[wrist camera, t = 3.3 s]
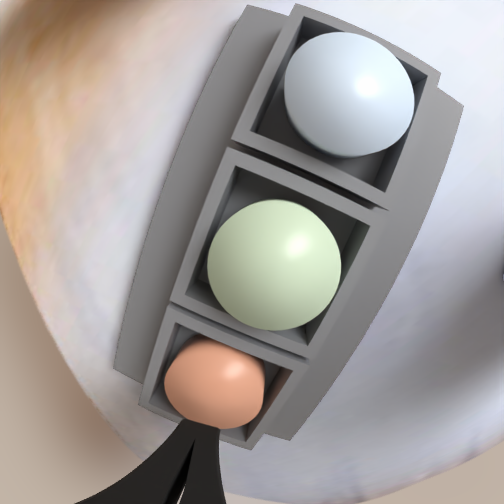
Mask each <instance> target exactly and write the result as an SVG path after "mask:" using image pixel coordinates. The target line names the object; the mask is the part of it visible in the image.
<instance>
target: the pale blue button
mask: <svg viewBox="0 0 504 504" xmlns="http://www.w3.org/2000/svg"><path fill="white" fill-rule="evenodd" d="M284 104H285V110H286V115H287V117H288V120H289V122H290V124H291V126H292V128H293V129H294V131H295V132H296V134H297V135H298V136H299V137H300V138H301V139H302V140H303V141H304V142H305V143H306V144H307V145H309V146H310V147H312V148H313V149H315V150H316V151H318V152H320V153H323V154H325V155H328V156H332V157H336V158H356V157H360V156H364V155H367V154H371V153H374V152H378V151H381V150H383V149H386V148H388V147H389V146H391V145H393V144H394V143H395V142H396V141H398V140H399V139H400V138H401V137H402V135H403V134H404V133H405V131H406V130H407V128H408V127H409V124H410V122H411V120H412V116H413V111H414V93H413V88H412V85H411V81H410V79H409V77H408V74H407V72H406V71H405V69H404V67H403V66H402V64H401V63H400V62H399V60H398V59H397V58H396V57H395V56H394V55H393V54H392V53H391V52H390V51H389V50H388V49H386V48H385V47H384V46H382V45H381V44H379V43H377V42H376V41H374V40H372V39H370V38H367V37H365V36H362V35H358V34H354V33H347V32H333V33H327V34H323V35H320V36H317V37H315V38H313V39H310V40H309V41H307V42H306V43H304V44H303V45H302V46H301V47H300V48H299V49H298V50H297V51H296V52H295V53H294V55H293V56H292V58H291V60H290V61H289V64H288V67H287V69H286V74H285V84H284Z"/></svg>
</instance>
